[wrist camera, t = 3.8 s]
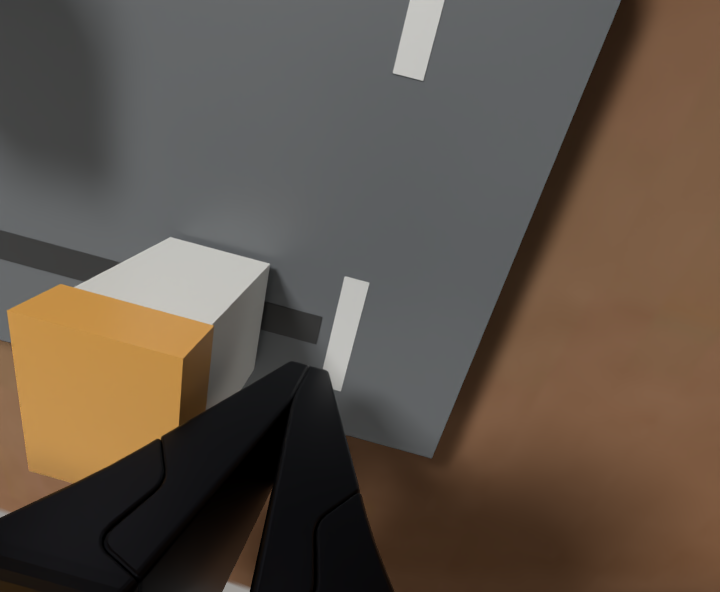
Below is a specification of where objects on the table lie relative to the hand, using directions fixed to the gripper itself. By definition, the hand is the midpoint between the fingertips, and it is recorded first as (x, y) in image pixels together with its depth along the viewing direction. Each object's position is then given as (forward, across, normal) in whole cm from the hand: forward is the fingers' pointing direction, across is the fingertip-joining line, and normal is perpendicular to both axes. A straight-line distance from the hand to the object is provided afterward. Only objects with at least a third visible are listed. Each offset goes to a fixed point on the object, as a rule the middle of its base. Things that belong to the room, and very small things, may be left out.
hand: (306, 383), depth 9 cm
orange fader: (+2, +3, 0) cm, 3 cm away
